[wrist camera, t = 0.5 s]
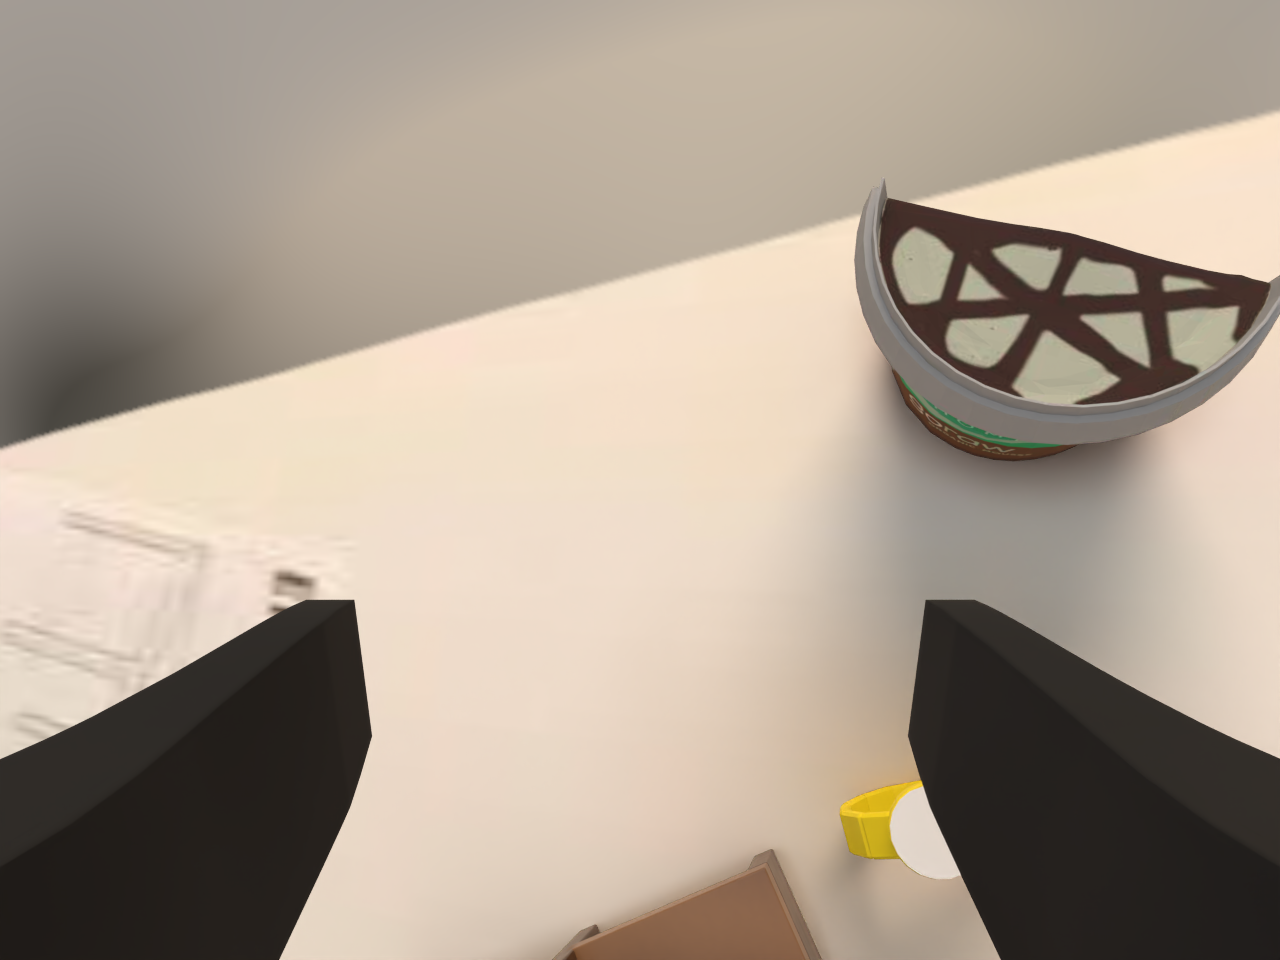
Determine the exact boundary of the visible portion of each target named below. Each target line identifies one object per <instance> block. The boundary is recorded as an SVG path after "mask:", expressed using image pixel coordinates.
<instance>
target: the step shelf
mask: <svg viewBox="0 0 1280 960" xmlns="http://www.w3.org/2000/svg"><path fill="white" fill-rule="evenodd" d="M553 960H822V959H821V957H820V955H819V952H818V950H817V948H816V946H815V943H814V941H813V939H812V937H811V934H810V932H809V930H808V928H807V925H806V923H805V921H804V919H803V916H802V914H801V912H800V910H799V907H798V905H797V903H796V901H795V898H794V896H793V894H792V892H791V889H790V887H789V885H788V883H787V880H786V878H785V876H784V874H783V871H782V869H781V867H780V865H779V862H778V860H777V858H776V856H775V853H774V851H773V850H772V849H771V850H768V851H766V852H764V853H761V854H759V855H757V856H755V857H754V859H753V861H752V863H751V865H750V867H749V869H748V870H747V871H745V872H743V873H740V874H738V875H736V876H733V877H731V878H729V879H726V880H724V881H721V882H719V883H717V884H714V885H712V886H710V887H707V888H705V889H703V890H700V891H698V892H696V893H693V894H691V895H689V896H686V897H684V898H682V899H679V900H677V901H675V902H672V903H670V904H668V905H665V906H663V907H660V908H658V909H656V910H653V911H651V912H649V913H646V914H644V915H642V916H639V917H637V918H635V919H632V920H630V921H628V922H625V923H623V924H621V925H618V926H616V927H614V928H611V929H609V930H607V931H604V932H602V933H599V930H598V927H597V925H593V926H591V927H588V928H586V929H584V930H581V931H580V932H579V933H578V934H577V935H576V936H575V937H574V938H573V939H572V940H571V941H570V942H569V943H568V944H567V945H566V946H565V947H564V948H563V949H562V950H561V951H560V952H559V953H558V954H557V955H556V956H555V957H554V959H553Z"/></svg>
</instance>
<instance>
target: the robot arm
mask: <svg viewBox="0 0 1280 960" xmlns="http://www.w3.org/2000/svg"><path fill="white" fill-rule="evenodd" d="M908 737H909V741H910V744H911V748H912V751H913V755H914V758H915V761H916V765H917V768H918V772H919V775H920V778H921V781H922V784H923V787H924V790H925V794H926V797H927V800H928V803H929V806H930V808H931V811H932V813H933V815H934V817H935V820H936V822H937V824H938V826H939V828H940V831H941V833H942V835H943V837H944V839H945V842H946V844H947V846H948V848H949V850H950V852H951V855H952V857H953V859H954V861H955V863H956V865H957V867H958V870H959V872H960V874H961V876H962V878H963V880H964V882H965V884H966V887H967V889H968V891H969V893H970V895H971V897H972V899H973V901H974V904H975V906H976V908H977V910H978V912H979V914H980V916H981V918H982V921H983V923H984V925H985V927H986V929H987V931H988V933H989V935H990V937H991V940H992V942H993V944H994V946H995V948H996V950H997V952H998V954H999V957H1000V959H1001V960H1280V759H1279V758H1277V757H1275V756H1272V755H1270V754H1268V753H1266V752H1263V751H1261V750H1259V749H1256V748H1254V747H1252V746H1249V745H1247V744H1245V743H1243V742H1240V741H1238V740H1236V739H1234V738H1232V737H1229V736H1227V735H1225V734H1223V733H1221V732H1219V731H1217V730H1215V729H1212V728H1210V727H1208V726H1206V725H1204V724H1202V723H1200V722H1198V721H1196V720H1194V719H1192V718H1190V717H1188V716H1186V715H1184V714H1183V713H1181V712H1179V711H1177V710H1175V709H1173V708H1171V707H1169V706H1167V705H1165V704H1163V703H1161V702H1159V701H1157V700H1155V699H1153V698H1151V697H1149V696H1147V695H1146V694H1144V693H1142V692H1140V691H1138V690H1136V689H1135V688H1133V687H1131V686H1129V685H1127V684H1125V683H1124V682H1122V681H1120V680H1118V679H1116V678H1115V677H1113V676H1111V675H1109V674H1107V673H1106V672H1104V671H1102V670H1100V669H1099V668H1097V667H1095V666H1093V665H1092V664H1090V663H1088V662H1086V661H1085V660H1083V659H1081V658H1079V657H1078V656H1076V655H1074V654H1072V653H1071V652H1069V651H1067V650H1066V649H1064V648H1062V647H1060V646H1059V645H1057V644H1055V643H1054V642H1052V641H1050V640H1048V639H1047V638H1045V637H1043V636H1042V635H1040V634H1038V633H1036V632H1035V631H1033V630H1031V629H1029V628H1028V627H1026V626H1024V625H1023V624H1021V623H1019V622H1017V621H1015V620H1014V619H1012V618H1010V617H1008V616H1006V615H1005V614H1003V613H1001V612H999V611H997V610H995V609H993V608H991V607H989V606H987V605H985V604H983V603H980V602H978V601H976V600H926V602H925V610H924V617H923V625H922V633H921V641H920V648H919V656H918V664H917V671H916V679H915V687H914V694H913V702H912V710H911V717H910V725H909V733H908ZM371 738H372V732H371V725H370V717H369V709H368V702H367V694H366V686H365V679H364V671H363V663H362V655H361V648H360V640H359V632H358V625H357V617H356V609H355V602H354V600H305V601H303V602H300V603H298V604H296V605H293V606H291V607H289V608H287V609H285V610H283V611H282V612H280V613H278V614H276V615H274V616H272V617H270V618H269V619H267V620H265V621H263V622H262V623H260V624H258V625H256V626H255V627H253V628H251V629H249V630H248V631H246V632H244V633H243V634H241V635H239V636H237V637H236V638H234V639H232V640H231V641H229V642H227V643H225V644H224V645H222V646H220V647H218V648H217V649H215V650H213V651H212V652H210V653H208V654H206V655H205V656H203V657H201V658H199V659H198V660H196V661H194V662H193V663H191V664H189V665H187V666H186V667H184V668H182V669H180V670H179V671H177V672H175V673H173V674H172V675H170V676H168V677H166V678H164V679H162V680H160V681H158V682H157V683H155V684H153V685H151V686H149V687H147V688H145V689H143V690H142V691H140V692H138V693H136V694H134V695H132V696H130V697H128V698H127V699H125V700H123V701H121V702H119V703H117V704H115V705H113V706H112V707H110V708H108V709H106V710H104V711H102V712H100V713H98V714H97V715H95V716H93V717H91V718H89V719H87V720H85V721H83V722H81V723H79V724H77V725H75V726H73V727H70V728H68V729H66V730H64V731H62V732H60V733H58V734H56V735H54V736H51V737H49V738H47V739H45V740H43V741H41V742H38V743H36V744H34V745H32V746H29V747H27V748H25V749H23V750H20V751H18V752H16V753H13V754H11V755H9V756H7V757H4V758H2V759H0V960H279V959H280V957H281V955H282V953H283V950H284V948H285V946H286V944H287V942H288V940H289V938H290V936H291V933H292V931H293V929H294V927H295V925H296V923H297V921H298V919H299V916H300V914H301V912H302V910H303V908H304V906H305V904H306V902H307V899H308V897H309V895H310V893H311V891H312V889H313V887H314V885H315V882H316V880H317V878H318V876H319V874H320V872H321V870H322V868H323V865H324V863H325V861H326V859H327V857H328V855H329V852H330V850H331V848H332V846H333V844H334V842H335V839H336V837H337V835H338V833H339V831H340V829H341V826H342V824H343V822H344V820H345V817H346V815H347V813H348V811H349V809H350V806H351V803H352V800H353V797H354V794H355V791H356V788H357V784H358V781H359V778H360V775H361V772H362V768H363V765H364V762H365V758H366V755H367V751H368V748H369V744H370V741H371Z"/></svg>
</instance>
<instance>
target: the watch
mask: <svg viewBox="0 0 1280 960" xmlns="http://www.w3.org/2000/svg"><path fill="white" fill-rule="evenodd" d="M840 817H841V821H842V825H843V828H844V832H845V836H846V840H847V843H848V847H849V851H850V852H851V853H853V854H854V855H858V856H862V857H865V858H869V859H873V858H874V859H901V860H902V862H903V863H904V864H905V865H906V866H907V867H909V868H910V869H912V870H913V871H914V872H916V873H917V874H919V875H922V876H925V877H928V878H931V879H951V878H954V877H957V876H960V875H961V874H960V872H959V870H958V867H957V865H956V863H955V861H954V859H953V857H952V855H951V852H950V850H949V848H948V846H947V844H946V842H945V839H944V837H943V835H942V833H941V831H940V828H939V826H938V824H937V822H936V820H935V817H934V815H933V813H932V811H931V808H930V806H929V803H928V800H927V797H926V794H925V790H924V787H923V784H922V781H921V780H919V781H914V782H909V783H903V784H898V785H893V786H886V787H883V788H880V789H877V790H874V791H871V792H868V793H865V794H862V795H861V796H857V797H855V798H853V799H851V800H849V801H847V802H846V803H844V804H843V805H842V806H841V807H840Z"/></svg>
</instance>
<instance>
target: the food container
mask: <svg viewBox="0 0 1280 960" xmlns="http://www.w3.org/2000/svg"><path fill="white" fill-rule="evenodd" d="M854 261H855V274H856V288H857V292H858V296H859V300H860V304H861V308H862V312H863V316H864V318H865V320H866V322H867V325H868V327H869V329H870V331H871V333H872V336H873V338H874V340H875V342H876V344H877V345H878V347H879V348H880V350H881V351H882V353H883V354H884V356H885V357H886V359H887V360H888V362H889V363H890V365H891V366H892V371H893V374H894V376H895V379H896V381H897V383H898V386H899V388H900V391H901V393H902V396H903V398H904V401H905V403H906V405H907V406H908V407H909V408H910V409H911V411H912V412H913V413H914V414H915V415H916V416H917V417H918V419H919V420H920V421H921V422H922V423H923V424H924V426H925V427H926V428H927V429H928V430H929V431H930V432H931V433H932V434H934V435H936V436H937V437H939V438H940V439H942V440H944V441H945V442H947V443H949V444H950V445H952V446H953V447H955V448H957V449H960V450H962V451H965V452H967V453H970V454H973V455H976V456H980V457H985V458H989V459H994V460H1009V461H1018V460H1031V459H1037V458H1042V457H1046V456H1050V455H1055V454H1057V453H1060V452H1062V451H1065V450H1067V449H1070V448H1072V447H1075V446H1076V445H1078V444H1086V443H1099V442H1106V441H1110V440H1115V439H1119V438H1124V437H1128V436H1133V435H1137V434H1140V433H1143V432H1145V431H1148V430H1151V429H1153V428H1156V427H1159V426H1161V425H1164V424H1167V423H1169V422H1172V421H1173V420H1175V419H1177V418H1179V417H1181V416H1182V415H1184V414H1186V413H1188V412H1189V411H1191V410H1193V409H1195V408H1197V407H1198V406H1200V405H1202V404H1203V403H1205V402H1206V401H1207V400H1208V399H1210V398H1211V397H1212V396H1213V395H1215V394H1216V393H1217V392H1219V391H1220V390H1221V389H1222V388H1224V387H1225V386H1226V385H1227V384H1229V383H1230V382H1231V381H1232V380H1233V379H1234V377H1235V376H1236V375H1237V374H1238V373H1239V372H1240V371H1241V370H1242V369H1243V368H1244V367H1245V365H1246V364H1247V363H1248V362H1249V361H1250V360H1251V359H1252V358H1253V356H1254V355H1255V353H1256V352H1257V350H1258V349H1259V347H1260V346H1261V344H1262V342H1263V341H1264V339H1265V338H1266V336H1267V335H1268V333H1269V331H1270V330H1271V328H1272V327H1273V325H1274V323H1275V321H1276V320H1277V318H1278V316H1279V315H1280V276H1278V277H1276V278H1275V279H1273V280H1272V281H1270V282H1269V283H1267V282H1263V281H1259V280H1254V279H1251V278H1248V277H1245V276H1242V275H1232V274H1224V273H1219V272H1213V271H1208V270H1203V269H1199V268H1195V267H1191V266H1187V265H1182V264H1178V263H1174V262H1170V261H1166V260H1162V259H1158V258H1154V257H1151V256H1147V255H1143V254H1140V253H1136V252H1133V251H1130V250H1127V249H1123V248H1120V247H1117V246H1114V245H1110V244H1107V243H1104V242H1100V241H1097V240H1093V239H1089V238H1086V237H1082V236H1079V235H1076V234H1071V233H1067V232H1061V231H1055V230H1049V229H1043V228H1037V227H1030V226H1023V225H1015V224H1009V223H1003V222H997V221H991V220H985V219H980V218H975V217H970V216H966V215H961V214H957V213H952V212H948V211H943V210H939V209H934V208H930V207H925V206H921V205H916V204H912V203H907V202H903V201H899V200H894V199H890V198H887V193H886V186H885V179H884V178H882V179H881V183H880V187H879V188H877V187H873V188H872V190H871V192H870V194H869V196H868V199H867V201H866V203H865V205H864V208H863V211H862V215H861V219H860V223H859V227H858V231H857V238H856V249H855V259H854Z"/></svg>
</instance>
